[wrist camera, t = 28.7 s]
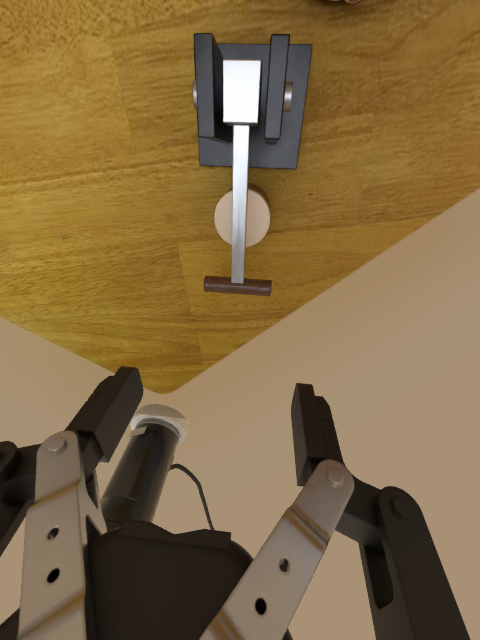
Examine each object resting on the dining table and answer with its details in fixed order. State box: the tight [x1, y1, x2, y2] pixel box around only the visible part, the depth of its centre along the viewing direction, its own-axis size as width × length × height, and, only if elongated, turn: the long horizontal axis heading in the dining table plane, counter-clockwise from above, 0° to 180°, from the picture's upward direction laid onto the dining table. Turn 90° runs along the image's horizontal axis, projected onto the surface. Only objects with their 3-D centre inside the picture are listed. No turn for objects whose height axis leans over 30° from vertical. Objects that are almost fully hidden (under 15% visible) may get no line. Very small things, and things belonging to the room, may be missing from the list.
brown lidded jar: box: [214, 183, 270, 247], centre depth 25 cm, size 5×5×5 cm
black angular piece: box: [193, 33, 312, 169], centre depth 18 cm, size 8×9×10 cm
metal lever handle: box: [204, 59, 272, 296], centre depth 19 cm, size 15×6×2 cm, turn 178°
